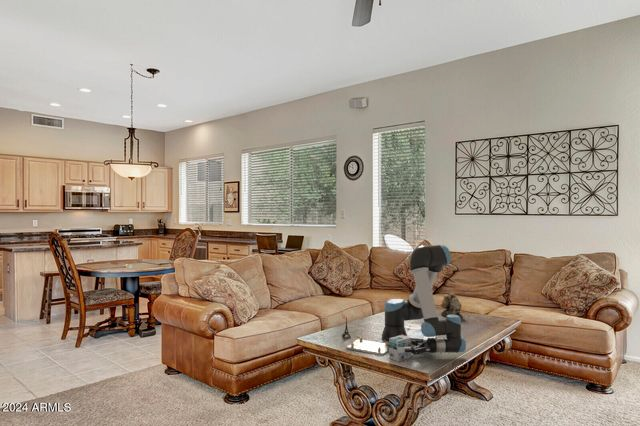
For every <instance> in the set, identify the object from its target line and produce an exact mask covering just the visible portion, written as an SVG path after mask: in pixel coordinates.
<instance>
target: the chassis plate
mask: <svg viewBox="0 0 640 426" xmlns="http://www.w3.org/2000/svg"><path fill="white" fill-rule="evenodd" d="M359 337H360V338H356V340H354V341H353V342H351V343H350V344H348V345H347V346H346V347H345V348H346V350H350V351H355V352H360V353H367V354H371V355H372V354H373V355H377V356H384V355H385V354H387V353H389V342H388V341H385V342H384V343H383V342H377V341H373V340H372V341H371V340H365V339H363V336H359Z"/></svg>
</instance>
